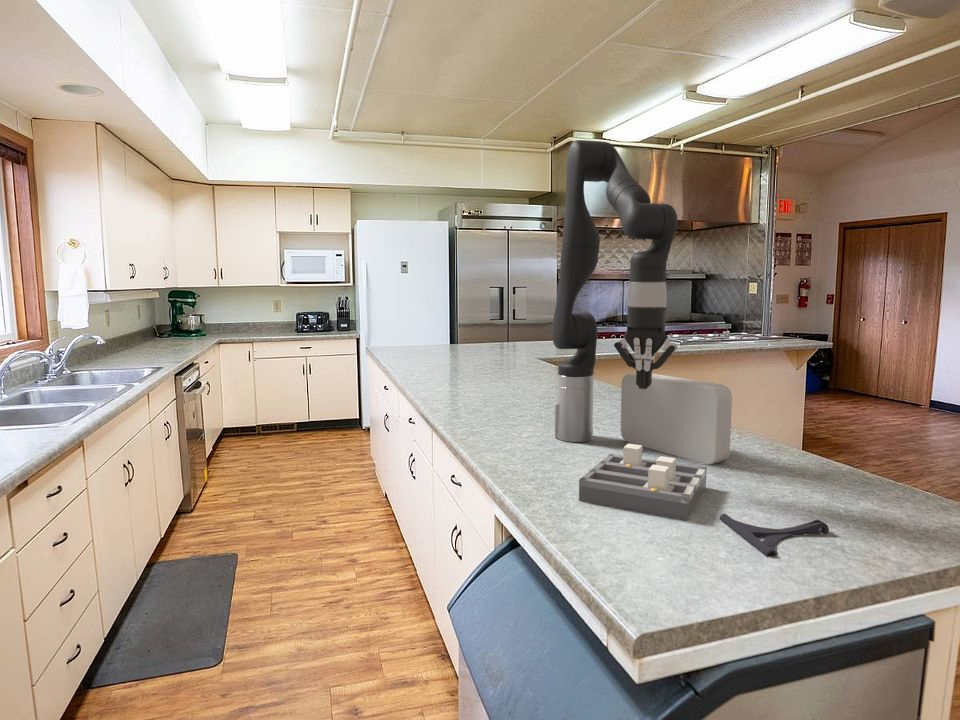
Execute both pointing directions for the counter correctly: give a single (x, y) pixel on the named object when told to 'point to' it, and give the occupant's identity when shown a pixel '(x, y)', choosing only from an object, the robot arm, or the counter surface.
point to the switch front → (659, 478)
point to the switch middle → (671, 464)
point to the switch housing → (642, 488)
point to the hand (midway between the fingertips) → (643, 388)
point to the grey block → (678, 417)
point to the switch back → (633, 455)
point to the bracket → (771, 533)
